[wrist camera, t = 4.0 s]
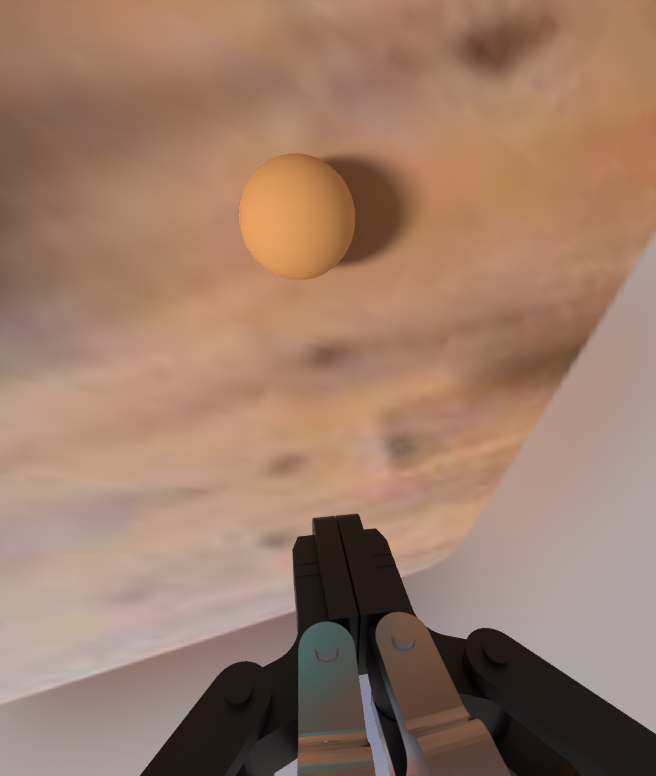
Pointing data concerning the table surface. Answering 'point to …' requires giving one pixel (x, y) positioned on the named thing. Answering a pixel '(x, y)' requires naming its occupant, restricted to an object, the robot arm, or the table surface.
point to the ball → (297, 216)
